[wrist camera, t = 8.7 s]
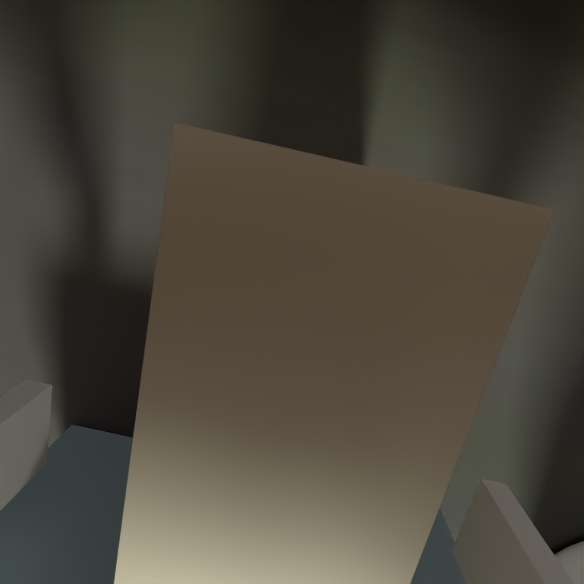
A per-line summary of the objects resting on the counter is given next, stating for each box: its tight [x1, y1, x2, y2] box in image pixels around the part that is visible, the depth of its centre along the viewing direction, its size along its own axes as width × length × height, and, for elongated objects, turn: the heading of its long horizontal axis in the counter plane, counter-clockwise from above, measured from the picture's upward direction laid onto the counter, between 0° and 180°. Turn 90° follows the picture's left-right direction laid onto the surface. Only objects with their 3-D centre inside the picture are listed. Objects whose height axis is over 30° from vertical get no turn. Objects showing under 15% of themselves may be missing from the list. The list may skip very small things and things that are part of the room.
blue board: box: [0, 425, 466, 584], centre depth 13 cm, size 16×2×7 cm, turn 77°
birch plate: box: [114, 123, 555, 584], centre depth 10 cm, size 17×3×11 cm, turn 168°
